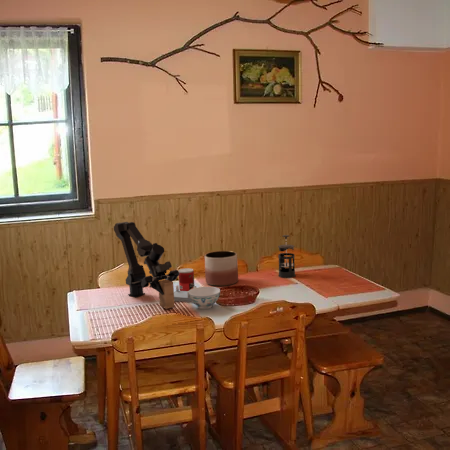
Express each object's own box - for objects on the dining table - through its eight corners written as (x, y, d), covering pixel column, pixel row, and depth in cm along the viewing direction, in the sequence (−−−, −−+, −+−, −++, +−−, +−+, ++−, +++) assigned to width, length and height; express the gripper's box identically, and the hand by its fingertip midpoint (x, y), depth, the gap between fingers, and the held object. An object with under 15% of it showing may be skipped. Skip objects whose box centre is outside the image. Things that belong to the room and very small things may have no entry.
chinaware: (224, 309, 257) (224, 293, 256) (193, 313, 253) (192, 297, 252) (216, 300, 272) (215, 284, 270) (186, 304, 268) (185, 288, 266)
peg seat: (168, 300, 274) (167, 290, 274) (176, 294, 284) (175, 285, 283) (190, 301, 271) (190, 292, 270) (198, 295, 280) (197, 286, 279)
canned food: (192, 292, 285) (191, 272, 284) (177, 292, 287) (176, 271, 285) (196, 288, 293) (195, 268, 291) (181, 288, 294) (180, 268, 293)
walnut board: (159, 305, 263) (158, 281, 261) (167, 303, 266) (166, 279, 264) (166, 308, 258) (164, 284, 256) (174, 306, 261) (173, 282, 259)
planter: (214, 276, 314) (213, 249, 311) (243, 279, 306) (242, 251, 304) (200, 285, 298) (198, 257, 295) (230, 288, 291) (228, 259, 288)
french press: (299, 276, 306) (298, 236, 302) (283, 279, 303) (282, 237, 299) (289, 272, 317) (288, 232, 313) (274, 274, 314) (273, 234, 310)
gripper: (142, 260, 255) (156, 288, 249) (176, 253, 267) (190, 280, 260) (135, 273, 263) (148, 301, 256) (168, 266, 274) (182, 292, 268)
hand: (167, 293), depth 260 cm, fingers closed on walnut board, 4 cm apart
